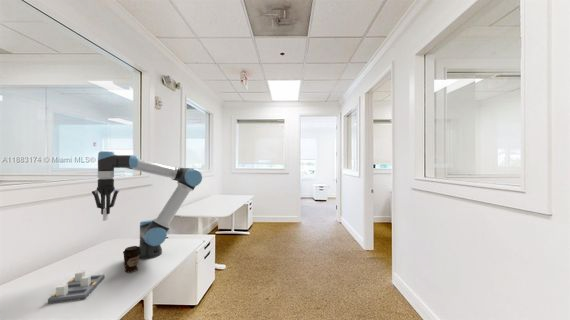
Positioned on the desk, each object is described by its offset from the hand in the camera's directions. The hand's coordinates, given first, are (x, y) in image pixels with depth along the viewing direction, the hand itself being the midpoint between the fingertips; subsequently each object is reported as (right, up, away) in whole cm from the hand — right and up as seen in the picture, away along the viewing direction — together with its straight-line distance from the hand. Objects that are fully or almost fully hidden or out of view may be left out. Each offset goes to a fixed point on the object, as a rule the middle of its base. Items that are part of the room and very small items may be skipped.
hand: (105, 219), depth 140 cm
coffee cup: (+14, -30, +2) cm, 33 cm away
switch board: (+1, -29, -20) cm, 35 cm away
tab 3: (+4, -28, -19) cm, 34 cm away
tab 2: (-3, -28, -14) cm, 31 cm away
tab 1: (0, -28, -27) cm, 39 cm away
